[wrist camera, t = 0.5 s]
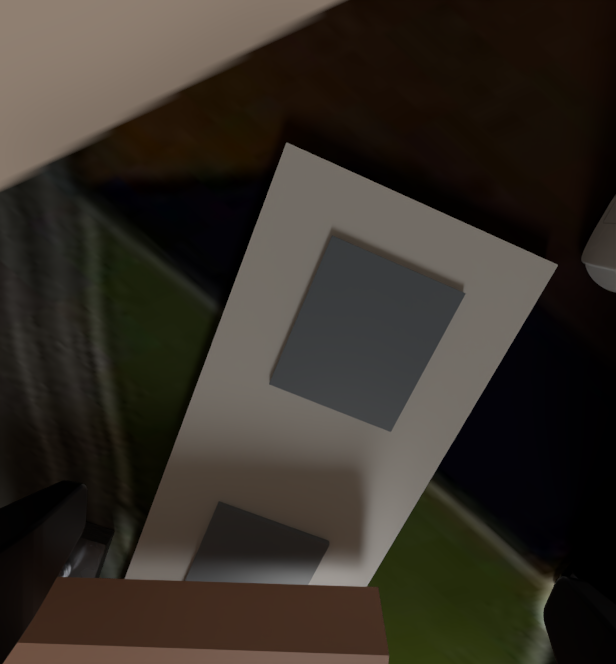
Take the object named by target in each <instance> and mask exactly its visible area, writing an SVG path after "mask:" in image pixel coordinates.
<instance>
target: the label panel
mask: <svg viewBox="0 0 616 664" xmlns="http://www.w3.org/2000/svg"><path fill="white" fill-rule="evenodd" d="M557 266H558V265H557V264H555V263H553V262H550V261H548V260H546V259H544V258H542V257H539V256H537V255H535V254H533V253H531V252H528V251H526V250H524V249H522V248H519V247H517V246H515V245H513V244H511V243H508V242H506V241H504V240H502V239H500V238H497V237H495V236H493V235H491V234H488V233H486V232H484V231H482V230H480V229H477V228H475V227H473V226H471V225H469V224H466V223H464V222H462V221H460V220H457V219H455V218H453V217H451V216H449V215H446V214H444V213H442V212H440V211H438V210H435V209H433V208H431V207H429V206H426V205H424V204H422V203H420V202H418V201H415V200H413V199H411V198H409V197H407V196H404V195H402V194H400V193H398V192H395V191H393V190H391V189H389V188H387V187H384V186H382V185H380V184H378V183H376V182H373V181H371V180H369V179H367V178H364V177H362V176H360V175H358V174H356V173H353V172H351V171H349V170H347V169H345V168H342V167H340V166H338V165H336V164H333V163H331V162H329V161H327V160H325V159H322V158H320V157H318V156H316V155H314V154H311V153H309V152H307V151H305V150H302V149H300V148H298V147H296V146H294V145H291V144H289V143H287V142H286V145H285V148H284V150H283V153H282V156H281V158H280V161H279V164H278V166H277V169H276V172H275V175H274V177H273V180H272V183H271V185H270V188H269V191H268V193H267V196H266V199H265V202H264V204H263V207H262V210H261V212H260V215H259V218H258V220H257V223H256V226H255V228H254V231H253V234H252V237H251V239H250V242H249V245H248V247H247V250H246V253H245V255H244V258H243V261H242V264H241V266H240V269H239V272H238V274H237V277H236V280H235V282H234V285H233V288H232V291H231V293H230V296H229V299H228V301H227V304H226V307H225V309H224V312H223V315H222V318H221V320H220V323H219V326H218V328H217V331H216V334H215V336H214V339H213V342H212V344H211V347H210V350H209V353H208V355H207V358H206V361H205V363H204V366H203V369H202V371H201V374H200V377H199V380H198V382H197V385H196V388H195V390H194V393H193V396H192V398H191V401H190V404H189V407H188V409H187V412H186V415H185V417H184V420H183V423H182V425H181V428H180V431H179V434H178V436H177V439H176V442H175V444H174V447H173V450H172V452H171V455H170V458H169V460H168V463H167V466H166V469H165V471H164V474H163V477H162V479H161V482H160V485H159V487H158V490H157V493H156V496H155V498H154V501H153V504H152V506H151V509H150V512H149V514H148V517H147V520H146V523H145V525H144V528H143V531H142V533H141V536H140V539H139V541H138V544H137V547H136V550H135V552H134V555H133V558H132V560H131V563H130V566H129V568H128V571H127V574H126V576H125V579H139V580H171V581H202V582H233V583H265V584H296V585H327V586H359V587H367V585H368V583H369V582H370V580H371V578H372V577H373V575H374V573H375V572H376V570H377V568H378V567H379V565H380V563H381V562H382V560H383V558H384V557H385V555H386V553H387V552H388V550H389V548H390V547H391V545H392V543H393V542H394V540H395V538H396V536H397V535H398V533H399V531H400V530H401V528H402V526H403V525H404V523H405V521H406V520H407V518H408V516H409V515H410V513H411V511H412V510H413V508H414V506H415V505H416V503H417V501H418V500H419V498H420V496H421V494H422V493H423V491H424V489H425V488H426V486H427V484H428V483H429V481H430V479H431V478H432V476H433V474H434V473H435V471H436V469H437V468H438V466H439V464H440V463H441V461H442V459H443V458H444V456H445V454H446V453H447V451H448V449H449V447H450V446H451V444H452V442H453V441H454V439H455V437H456V436H457V434H458V432H459V431H460V429H461V427H462V426H463V424H464V422H465V421H466V419H467V417H468V416H469V414H470V412H471V411H472V409H473V407H474V405H475V404H476V402H477V400H478V399H479V397H480V395H481V394H482V392H483V390H484V389H485V387H486V385H487V384H488V382H489V380H490V379H491V377H492V375H493V374H494V372H495V370H496V369H497V367H498V365H499V364H500V362H501V360H502V358H503V357H504V355H505V353H506V352H507V350H508V348H509V347H510V345H511V343H512V342H513V340H514V338H515V337H516V335H517V333H518V332H519V330H520V328H521V327H522V325H523V323H524V322H525V320H526V318H527V316H528V315H529V313H530V311H531V310H532V308H533V306H534V305H535V303H536V301H537V300H538V298H539V296H540V295H541V293H542V291H543V290H544V288H545V286H546V285H547V283H548V281H549V280H550V278H551V276H552V275H553V273H554V271H555V269H556V268H557Z"/></svg>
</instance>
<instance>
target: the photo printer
mask: <svg viewBox="0 0 616 664" xmlns="http://www.w3.org/2000/svg"><path fill="white" fill-rule="evenodd" d="M581 260H582V262H583V263H585V266H586V269H587V271H588V273H589V275H590V276H591V278H592V279H593V280H594V281H595V282H596V283H597V284H598V285H600V286H601V287H603V288H605V289H607V290H609V291H613V292H616V195H615V196H614V198H613V199H612V201H611V202H610V204H609V206H608V207H607V209H606V211H605V212H604V214H603V216H602V217H601V219H600V221H599V223H598V224H597V226H596V228H595V229H594V231H593V233H592V235H591V237H590V239H589V240H588V243H587V245H586V247H585V249H584V251H583V254H582V258H581Z"/></svg>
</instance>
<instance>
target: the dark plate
mask: <svg viewBox="0 0 616 664" xmlns="http://www.w3.org/2000/svg"><path fill="white" fill-rule="evenodd" d="M114 532H115V531H112V530H109V529H106V528H103V527H101V526H98V525H95V524H92V523H89V522H86V523H85V527H84V530H83V532H82V534H81V536H80V538H79V539H78V541H77V543H76V545H75V547H74V548H73V550H72V552H71V554H70V555H69V557H68V559H67V561H66V562H65V564H64V566H63V568H62V570H61V571H60V573H59V575H58V577H77V578H99V575H100V572H101V569H102V567H103V564H104V561H105V558H106V555H107V552H108V549H109V546H110V544H111V541H112V538H113V535H114Z"/></svg>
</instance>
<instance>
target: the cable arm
mask: <svg viewBox="0 0 616 664" xmlns="http://www.w3.org/2000/svg"><path fill="white" fill-rule="evenodd" d="M388 661H389V652H388V646H387V639H386V633H385V627H384V621H383V615H382V608H381V602H380V596H379V590H378V587H359V586H327V585H296V584H265V583H233V582H202V581H171V580H139V579H108V578H77V577H57V578H56V580H55V582H54V584H53V586H52V587H51V589H50V591H49V593H48V594H47V596H46V598H45V600H44V601H43V603H42V605H41V607H40V608H39V610H38V612H37V613H36V615H35V617H34V618H33V620H32V622H31V623H30V625H29V626H28V628H27V629H26V631H25V632H24V634H23V635H22V637H21V638H20V640H19V641H18V642H17V644H16V645H15V647H14V648H13V650H12V651H11V653H10V654H9V655H8V657H7V658H6V660H5V661H4V663H3V664H388Z"/></svg>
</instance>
